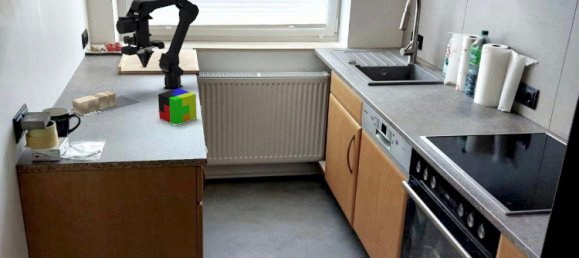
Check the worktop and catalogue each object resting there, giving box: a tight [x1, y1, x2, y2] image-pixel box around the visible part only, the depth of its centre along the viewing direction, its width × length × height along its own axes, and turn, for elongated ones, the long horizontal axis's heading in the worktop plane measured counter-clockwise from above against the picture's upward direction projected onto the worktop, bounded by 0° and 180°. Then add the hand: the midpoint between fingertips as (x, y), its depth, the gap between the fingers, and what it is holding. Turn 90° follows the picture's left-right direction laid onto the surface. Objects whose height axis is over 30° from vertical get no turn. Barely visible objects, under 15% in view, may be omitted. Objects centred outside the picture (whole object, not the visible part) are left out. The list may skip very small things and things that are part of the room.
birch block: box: [72, 90, 117, 116], centre depth 210 cm, size 5×5×16 cm
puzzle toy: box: [157, 88, 198, 125], centre depth 204 cm, size 10×10×10 cm
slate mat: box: [70, 95, 139, 113], centre depth 214 cm, size 24×12×1 cm, turn 143°
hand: (144, 67), depth 226 cm, fingers closed
